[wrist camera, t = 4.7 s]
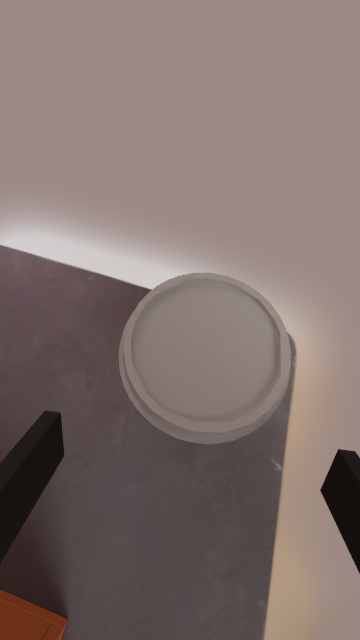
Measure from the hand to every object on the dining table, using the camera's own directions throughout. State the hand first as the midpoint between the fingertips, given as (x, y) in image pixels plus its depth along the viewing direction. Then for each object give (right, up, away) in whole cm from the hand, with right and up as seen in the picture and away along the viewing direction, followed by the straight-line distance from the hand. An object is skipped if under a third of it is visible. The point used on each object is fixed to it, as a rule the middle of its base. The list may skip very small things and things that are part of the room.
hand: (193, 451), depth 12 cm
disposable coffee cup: (0, 0, +12) cm, 12 cm away
